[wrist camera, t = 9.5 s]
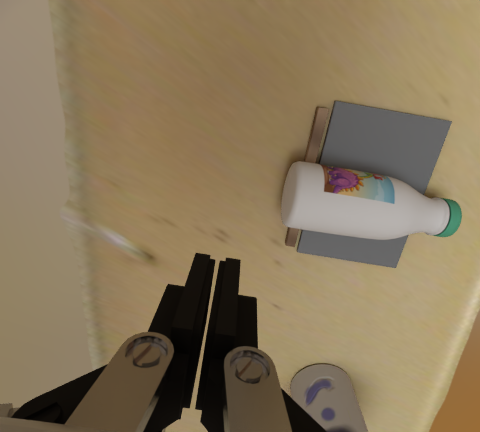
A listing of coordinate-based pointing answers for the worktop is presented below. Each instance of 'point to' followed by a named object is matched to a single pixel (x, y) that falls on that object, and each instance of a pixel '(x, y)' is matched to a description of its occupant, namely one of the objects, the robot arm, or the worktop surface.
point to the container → (328, 398)
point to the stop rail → (310, 157)
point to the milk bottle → (362, 204)
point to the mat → (376, 169)
